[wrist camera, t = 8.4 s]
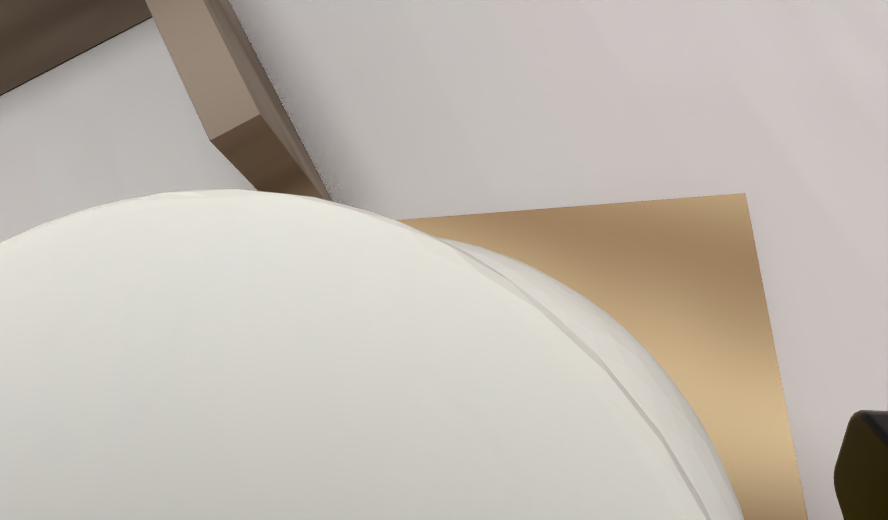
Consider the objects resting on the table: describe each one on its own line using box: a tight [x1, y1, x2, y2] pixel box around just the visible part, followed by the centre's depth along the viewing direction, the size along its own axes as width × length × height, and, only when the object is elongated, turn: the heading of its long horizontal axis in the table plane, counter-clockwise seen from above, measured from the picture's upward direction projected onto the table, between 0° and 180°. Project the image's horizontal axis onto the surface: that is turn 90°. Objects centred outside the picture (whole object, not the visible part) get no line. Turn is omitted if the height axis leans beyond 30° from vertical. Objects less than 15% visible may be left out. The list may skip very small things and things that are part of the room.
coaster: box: [396, 193, 808, 520], centre depth 15 cm, size 14×14×1 cm
